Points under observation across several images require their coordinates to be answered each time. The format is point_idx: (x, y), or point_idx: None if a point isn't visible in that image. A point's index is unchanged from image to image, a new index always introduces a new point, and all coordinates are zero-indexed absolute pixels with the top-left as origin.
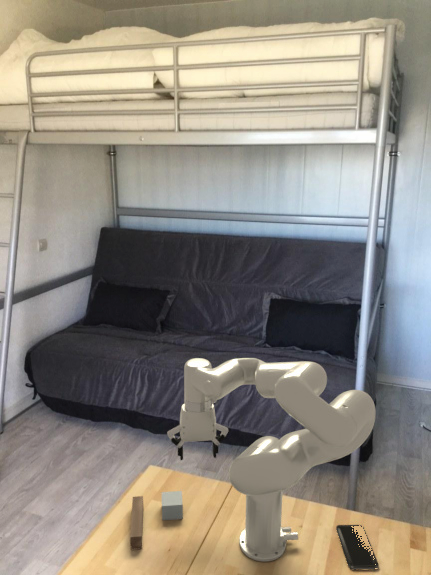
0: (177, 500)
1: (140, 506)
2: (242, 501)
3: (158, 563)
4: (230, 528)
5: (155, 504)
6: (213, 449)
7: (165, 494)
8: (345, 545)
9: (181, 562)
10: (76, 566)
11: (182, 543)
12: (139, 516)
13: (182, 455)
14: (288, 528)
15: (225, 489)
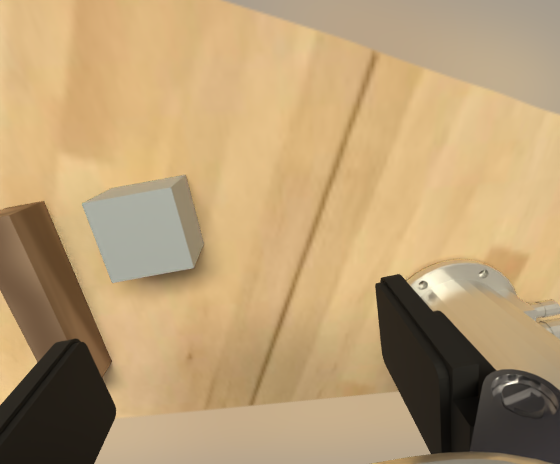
0: (167, 248)
1: (27, 274)
2: (413, 140)
3: (172, 396)
4: (361, 270)
5: (83, 181)
6: (410, 395)
7: (104, 216)
8: None
9: (230, 388)
10: None
11: (222, 334)
12: (47, 320)
13: (92, 454)
14: (551, 314)
15: (351, 69)
